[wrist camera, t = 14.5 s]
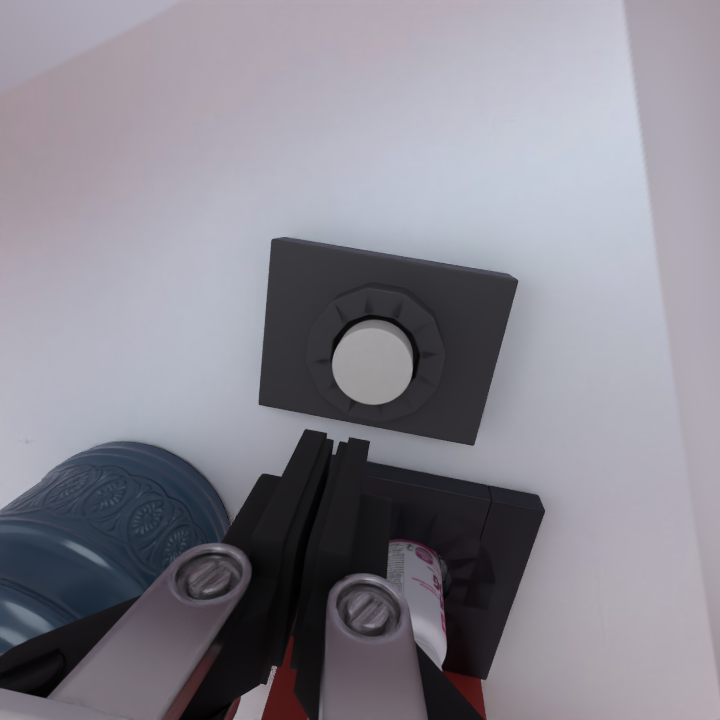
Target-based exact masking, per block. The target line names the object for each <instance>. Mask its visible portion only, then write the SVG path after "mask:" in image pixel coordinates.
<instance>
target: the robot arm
mask: <svg viewBox="0 0 720 720" xmlns="http://www.w3.org/2000/svg"><path fill="white" fill-rule="evenodd" d="M326 438H327V433H324V432H319V431H313V430H308V429H305V431H304V433H303V435H302V437H301V439H300V441H299V443H298V445H297V447H296V449H295V451H294V453H293V455H292V457H291V459H290V461H289V463H288V465H287V467H286V469H285V471H284V473H283V475H282V477H279V476H274V475H269V474H262V475H261V476H260V477H259V479H258V481H257V482H256V484H255V486H254V487H253V489H252V491H251V493H250V494H249V496H248V498H247V499H246V501H245V503H244V505H243V506H242V508H241V510H240V511H239V513H238V515H237V517H236V518H235V520H234V522H233V523H232V525H231V527H230V529H229V530H228V532H227V534H226V535H225V537H224V539H223V540H222V542H221V543H207V544H203V545H199V546H195V547H193V548H191V549H189V550H187V551H185V552H183V553H182V554H181V555H180V556H179V557H177V558H176V559H175V560H174V561H173V562H172V563H171V564H170V565H169V566H168V567H167V568H166V570H165V571H164V572H163V573H162V574H161V575H160V576H159V577H158V578H157V579H156V580H155V581H154V582H153V584H152V585H151V586H150V587H149V588H148V589H147V590H146V591H145V592H144V593H143V594H142V595H140V596H137V597H135V598H132V599H130V600H127V601H125V602H122V603H120V604H117V605H114V606H112V607H109V608H107V609H104V610H102V611H99V612H97V613H94V614H92V615H89V616H87V617H84V618H82V619H79V620H77V621H74V622H72V623H69V624H67V625H64V626H62V627H59V628H57V629H54V630H51V631H49V632H46V633H44V634H41V635H39V636H36V637H34V638H31V639H29V640H27V641H25V642H23V643H21V644H19V645H17V646H15V647H13V648H11V649H10V650H8V651H7V652H6V653H0V720H233V718H234V716H235V714H236V712H237V709H238V706H239V703H240V698H241V696H242V695H244V694H245V693H247V692H249V691H250V690H252V689H253V688H255V687H257V686H258V685H260V683H261V684H265V685H266V684H267V681H268V678H269V674H270V671H271V668H272V666H277V667H282V665H283V662H284V659H285V655H286V652H287V648H288V645H289V641H290V638H291V634H292V631H293V627H294V624H295V620H296V626H295V633H294V641H293V648H292V655H291V663H290V670H295V671H297V672H296V679H295V685H294V694H295V696H296V697H297V699H298V701H299V703H300V704H301V706H302V708H303V710H304V711H305V713H306V715H307V716H308V720H484V718H483V717H482V716H481V715H480V714H479V713H478V712H477V711H476V709H475V708H474V707H473V706H472V705H471V704H470V703H469V701H468V700H467V699H466V698H465V697H464V696H463V695H462V694H461V692H460V691H459V690H458V689H457V688H456V687H455V686H454V685H453V683H452V682H451V681H450V680H449V679H448V678H447V677H446V676H445V674H444V673H443V672H442V671H441V670H440V669H439V668H438V666H437V665H436V664H435V663H434V662H433V661H432V660H431V659H430V657H429V656H428V655H427V654H426V653H425V652H424V651H423V650H422V648H421V647H420V646H419V645H418V644H417V643H416V642H415V639H414V633H413V627H412V621H411V615H410V609H409V606H408V603H407V600H406V598H405V597H404V595H403V594H402V592H401V591H400V590H399V588H397V587H396V586H395V585H394V584H393V583H391V582H390V581H388V580H387V568H388V552H389V537H390V521H391V506H392V499H391V498H386V497H381V496H376V495H371V494H366V493H361V489H362V484H363V478H364V472H365V467H366V461H367V456H368V450H369V444H370V441H366V440H361V439H356V438H350V437H349V440H348V443H346V442H341V441H340V443H339V446H338V449H337V452H336V455H335V458H334V462H333V465H332V468H331V471H330V464H331V457H332V450H333V443H334V440H331V439H326ZM329 471H330V474H329ZM296 617H297V619H296Z"/></svg>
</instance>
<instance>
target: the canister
mask: <svg viewBox="0 0 720 720" xmlns="http://www.w3.org/2000/svg"><path fill="white" fill-rule="evenodd" d="M229 529H230V528H229V522H228V518H227V515H226V512H225V509H224V507H223V505H222V503H221V501H220V499H219V497H218V496H217V494H216V492H215V491H214V490H213V488H212V487H211V486H210V484H209V483H208V482H207V481H206V480H205V479H204V478H203V477H202V476H201V475H200V474H199V473H198V472H197V471H196V470H195V469H194V468H192V467H191V466H190V465H188V464H187V463H186V462H184V461H183V460H181V459H179V458H178V457H176V456H174V455H172V454H170V453H168V452H166V451H164V450H161V449H159V448H156V447H153V446H149V445H145V444H140V443H133V442H113V443H107V444H102V445H99V446H96V447H94V448H91V449H89V450H87V451H84V452H81V453H79V454H76V455H74V456H72V457H70V458H68V459H67V460H65V461H64V462H63V463H61V464H60V465H58V466H57V467H55V468H54V469H52V470H51V471H50V472H49V473H48V474H47V475H46V476H45V477H44V478H43V479H42V480H41V482H39V483H38V484H36V485H35V486H33V487H32V488H31V489H29V490H28V491H26V492H25V493H24V494H22V495H21V496H19V497H18V498H16V499H15V500H14V501H12V502H11V503H9V504H8V505H7V506H5V507H4V508H2V509H1V510H0V653H6V652H7V651H8V650H10V649H11V648H13V647H15V646H17V645H19V644H21V643H23V642H25V641H27V640H29V639H31V638H34V637H36V636H39V635H41V634H44V633H46V632H49V631H51V630H54V629H57V628H59V627H62V626H64V625H67V624H69V623H72V622H74V621H77V620H79V619H82V618H84V617H87V616H89V615H92V614H94V613H97V612H99V611H102V610H104V609H107V608H109V607H112V606H114V605H117V604H120V603H122V602H125V601H127V600H130V599H132V598H135V597H137V596H140V595H142V594H143V593H144V592H145V591H146V590H147V589H148V588H149V587H150V586H151V585H152V584H153V582H154V581H155V580H156V579H157V578H158V577H159V576H160V575H161V574H162V573H163V572H164V571H165V570H166V568H167V567H168V566H169V565H170V564H171V563H172V562H173V561H174V560H175V559H176V558H177V557H179V556H180V555H181V554H182V553H183V552H185V551H187V550H189V549H191V548H193V547H195V546H199V545H203V544H207V543H221V542H222V540H223V539H224V537H225V535H226V534H227V532H228V530H229Z"/></svg>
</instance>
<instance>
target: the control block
mask: <svg viewBox="0 0 720 720" xmlns="http://www.w3.org/2000/svg"><path fill="white" fill-rule="evenodd" d="M517 284H518V280H517V279H516V278H514V277H512V276H511V275H509V274H506V273H500V272H494V271H488V270H481V269H475V268H469V267H463V266H457V265H451V264H445V263H439V262H433V261H427V260H421V259H415V258H409V257H403V256H397V255H391V254H384V253H378V252H372V251H366V250H360V249H354V248H348V247H342V246H336V245H330V244H324V243H318V242H312V241H306V240H300V239H294V238H288V237H283V238H276V239H272V241H271V253H270V265H269V278H268V290H267V303H266V315H265V328H264V341H263V353H262V366H261V378H260V391H259V405H263V406H268V407H273V408H279V409H284V410H289V411H294V412H299V413H305V414H310V415H315V416H320V417H326V418H331V419H336V420H341V421H346V422H352V423H357V424H362V425H367V426H373V427H378V428H383V429H388V430H393V431H399V432H404V433H409V434H414V435H420V436H425V437H430V438H435V439H441V440H446V441H451V442H456V443H461V444H467V445H472V446H474V444H475V440H476V437H477V433H478V429H479V425H480V422H481V418H482V414H483V411H484V407H485V403H486V399H487V396H488V392H489V388H490V385H491V381H492V377H493V373H494V370H495V366H496V362H497V359H498V355H499V351H500V347H501V344H502V340H503V336H504V333H505V329H506V325H507V321H508V318H509V314H510V310H511V307H512V303H513V299H514V295H515V292H516V288H517ZM366 320H383V321H387V322H389V323H392V324H393V325H395V326H397V327H398V328H400V329H401V330H402V331H403V332H404V334H405V335H406V336H407V338H408V339H409V341H410V344H411V347H412V351H413V372H412V377H411V380H410V383H409V385H408V386H407V388H406V389H405V391H404V392H403V393H402V394H401V395H400V396H398V397H397V398H395V399H394V400H392V401H389V402H387V403H383V404H377V405H370V404H364V403H360V402H358V401H355V400H354V399H352V398H350V397H349V396H347V395H346V394H345V393H344V392H343V391H342V390H341V389H340V387H339V386H338V384H337V382H336V380H335V378H334V375H333V370H332V360H333V355H334V352H335V350H336V348H337V346H338V344H339V343H340V341H341V339H342V338H343V336H344V335H345V333H346V332H347V331H348V330H349V329H350V328H351V327H353V326H354V325H356V324H358V323H360V322H363V321H366Z"/></svg>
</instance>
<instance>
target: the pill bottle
mask: <svg viewBox="0 0 720 720" xmlns="http://www.w3.org/2000/svg"><path fill="white" fill-rule="evenodd" d="M387 580H388V581H390V582H391V583H393V584H394V585H395V586H396V587H397V588H399V590H400V591H401V592H402V594H403V595H404V597H405V598H406V600H407V603H408V606H409V609H410V615H411V621H412V627H413V633H414V639H415V642H416V643H417V644H418V645H419V646H420V647H421V648H422V650H423V651H424V652H425V653H426V654H427V655H428V656H429V657H430V659H431V660H432V661H433V662H434V663H435V664H436V665H437V666H438V668H439V669H440V670H441V671H442V667H441V665H442V663H443V661H444V659H445V656H446V651H447V640H446V627H445V614H444V604H443V590H442V578H441V566H440V561H439V557H438V555H437V553H436V551H434V550H432V549H430V548H429V547H427V546H425V545H424V544H422V543H418V542H414V541H409V540H404V539H395V540H389V552H388V568H387Z"/></svg>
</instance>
